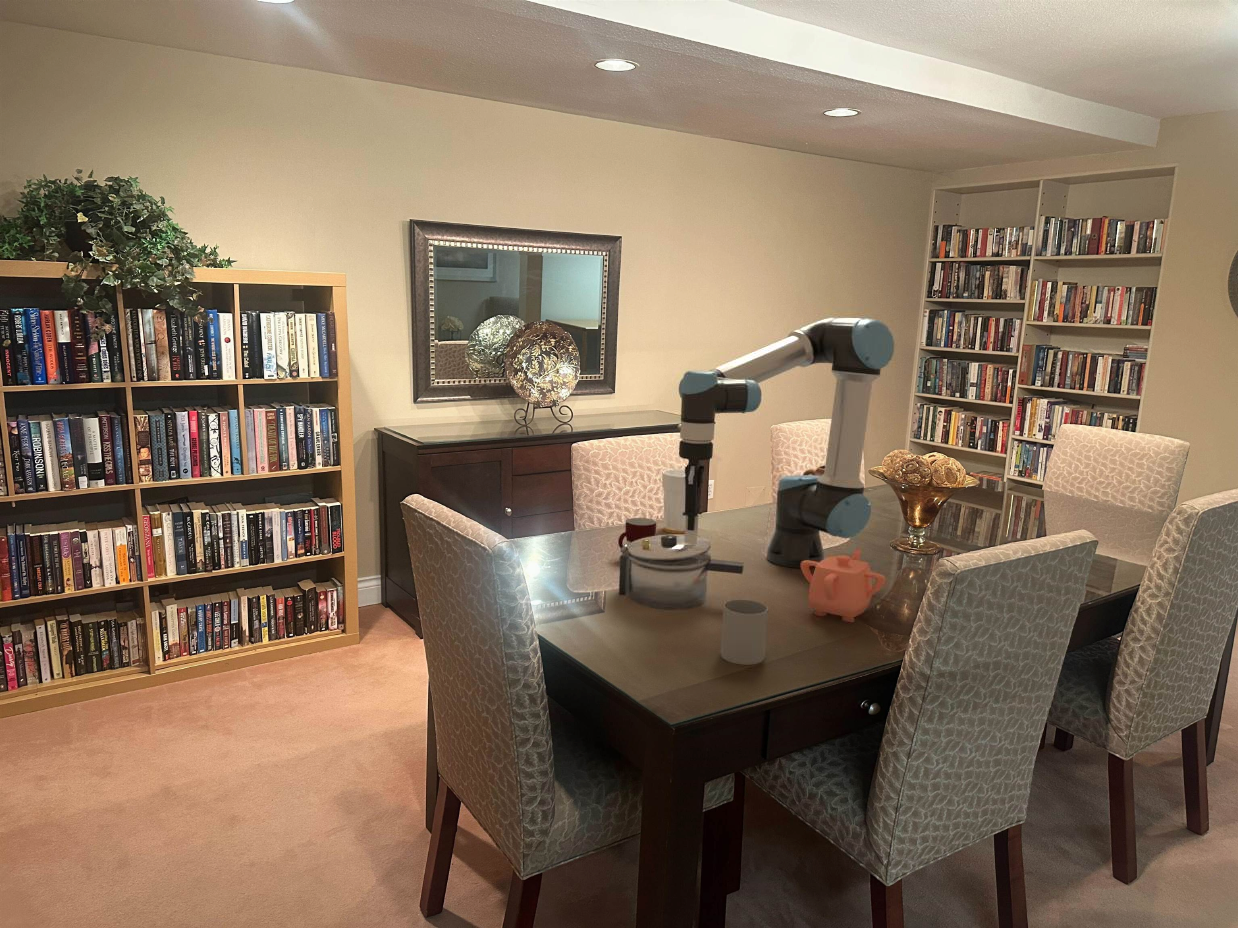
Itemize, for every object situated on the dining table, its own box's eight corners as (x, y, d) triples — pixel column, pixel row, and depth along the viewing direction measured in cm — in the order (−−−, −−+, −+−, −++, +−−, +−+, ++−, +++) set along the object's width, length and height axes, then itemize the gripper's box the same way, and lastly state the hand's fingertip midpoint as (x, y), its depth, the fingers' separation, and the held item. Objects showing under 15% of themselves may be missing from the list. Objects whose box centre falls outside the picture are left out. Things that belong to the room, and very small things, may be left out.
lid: (715, 538, 208) (714, 525, 207) (705, 560, 189) (704, 546, 189) (631, 539, 212) (631, 526, 212) (614, 560, 194) (613, 547, 193)
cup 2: (717, 647, 173) (720, 599, 172) (758, 647, 174) (761, 599, 172) (726, 664, 165) (729, 614, 163) (768, 664, 166) (772, 614, 164)
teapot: (824, 627, 186) (829, 568, 184) (790, 602, 201) (794, 547, 199) (893, 622, 191) (898, 564, 188) (855, 598, 206) (860, 544, 203)
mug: (629, 565, 225) (631, 528, 223) (610, 557, 231) (612, 521, 229) (661, 559, 231) (662, 522, 230) (641, 552, 238) (643, 516, 236)
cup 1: (704, 529, 264) (707, 472, 261) (686, 536, 255) (689, 478, 252) (671, 522, 270) (673, 467, 267) (652, 530, 261) (655, 473, 258)
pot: (744, 590, 208) (746, 550, 206) (736, 618, 190) (739, 573, 188) (629, 578, 214) (631, 539, 212) (611, 604, 196) (613, 561, 194)
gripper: (684, 435, 202) (678, 534, 206) (675, 443, 189) (669, 548, 194) (716, 437, 200) (710, 537, 205) (709, 446, 188) (703, 552, 192)
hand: (690, 542), depth 199 cm, fingers closed
